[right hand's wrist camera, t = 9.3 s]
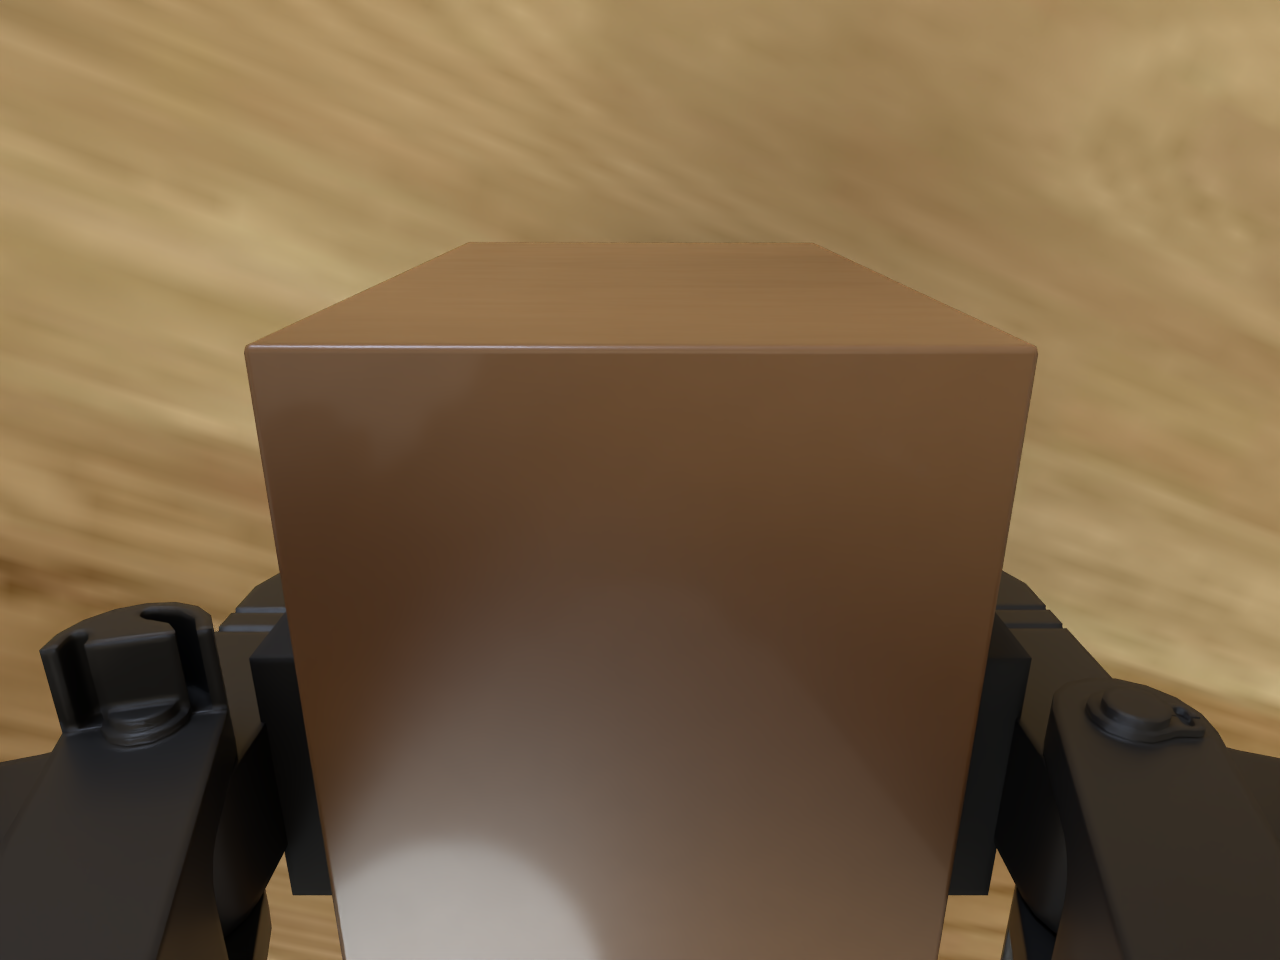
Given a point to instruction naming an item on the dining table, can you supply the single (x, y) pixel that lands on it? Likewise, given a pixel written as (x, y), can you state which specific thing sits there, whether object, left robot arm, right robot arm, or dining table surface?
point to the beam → (640, 597)
